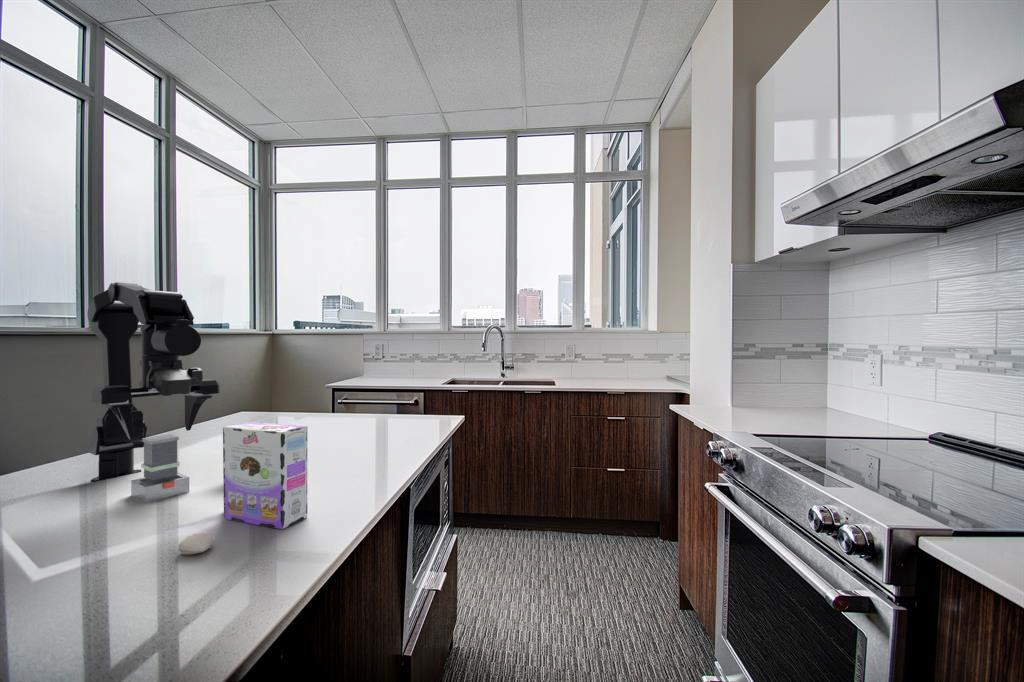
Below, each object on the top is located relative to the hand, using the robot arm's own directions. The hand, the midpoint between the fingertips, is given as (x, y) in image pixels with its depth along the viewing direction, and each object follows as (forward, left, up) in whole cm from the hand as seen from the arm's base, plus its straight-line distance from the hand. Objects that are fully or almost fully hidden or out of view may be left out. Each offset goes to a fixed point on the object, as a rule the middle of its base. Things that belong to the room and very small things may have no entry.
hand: (160, 434), depth 85 cm
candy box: (+14, +23, -13) cm, 30 cm away
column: (0, 0, -8) cm, 8 cm away
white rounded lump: (+25, +17, -13) cm, 33 cm away
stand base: (0, 0, -13) cm, 13 cm away
